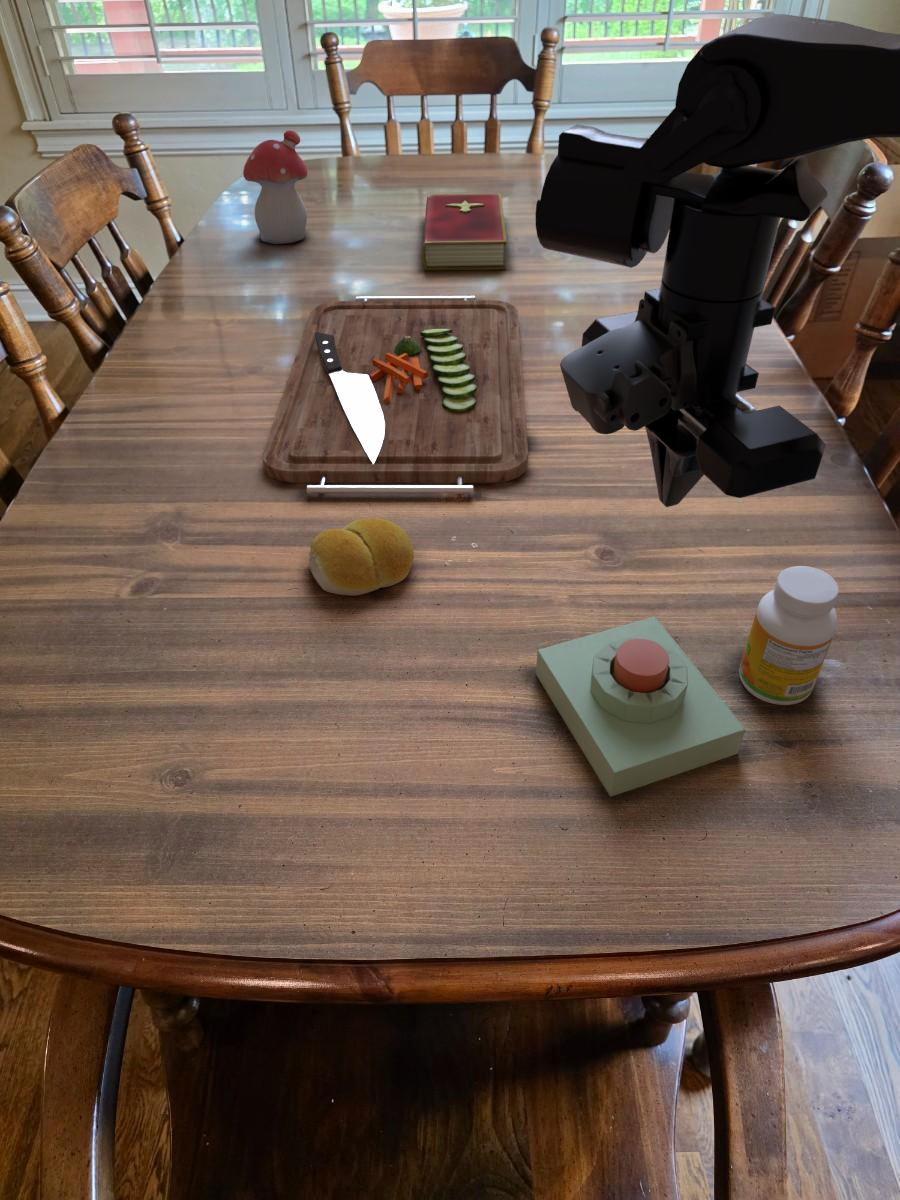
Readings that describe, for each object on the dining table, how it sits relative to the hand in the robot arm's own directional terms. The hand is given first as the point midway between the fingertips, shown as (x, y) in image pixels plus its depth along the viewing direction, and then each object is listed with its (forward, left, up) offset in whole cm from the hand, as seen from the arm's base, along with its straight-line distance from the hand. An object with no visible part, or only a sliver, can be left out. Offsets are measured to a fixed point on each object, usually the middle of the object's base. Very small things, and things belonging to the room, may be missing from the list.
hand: (668, 503), depth 60 cm
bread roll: (+19, -16, -13) cm, 28 cm away
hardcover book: (-18, -85, -13) cm, 88 cm away
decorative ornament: (+8, -98, -13) cm, 100 cm away
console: (+5, +7, -13) cm, 15 cm away
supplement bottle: (-7, +8, -13) cm, 17 cm away
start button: (+5, +7, -9) cm, 12 cm away
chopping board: (+5, -46, -13) cm, 49 cm away
